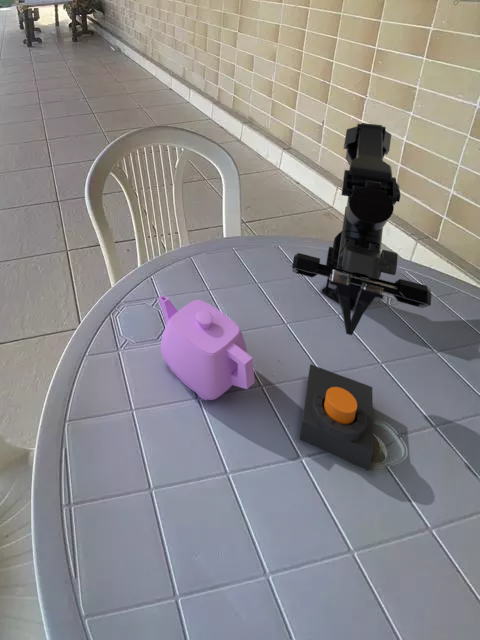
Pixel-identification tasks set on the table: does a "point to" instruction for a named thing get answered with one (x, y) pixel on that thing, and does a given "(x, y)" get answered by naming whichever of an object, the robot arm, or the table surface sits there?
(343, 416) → the round orange button
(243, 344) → the teapot
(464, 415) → the table surface
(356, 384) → the button base
